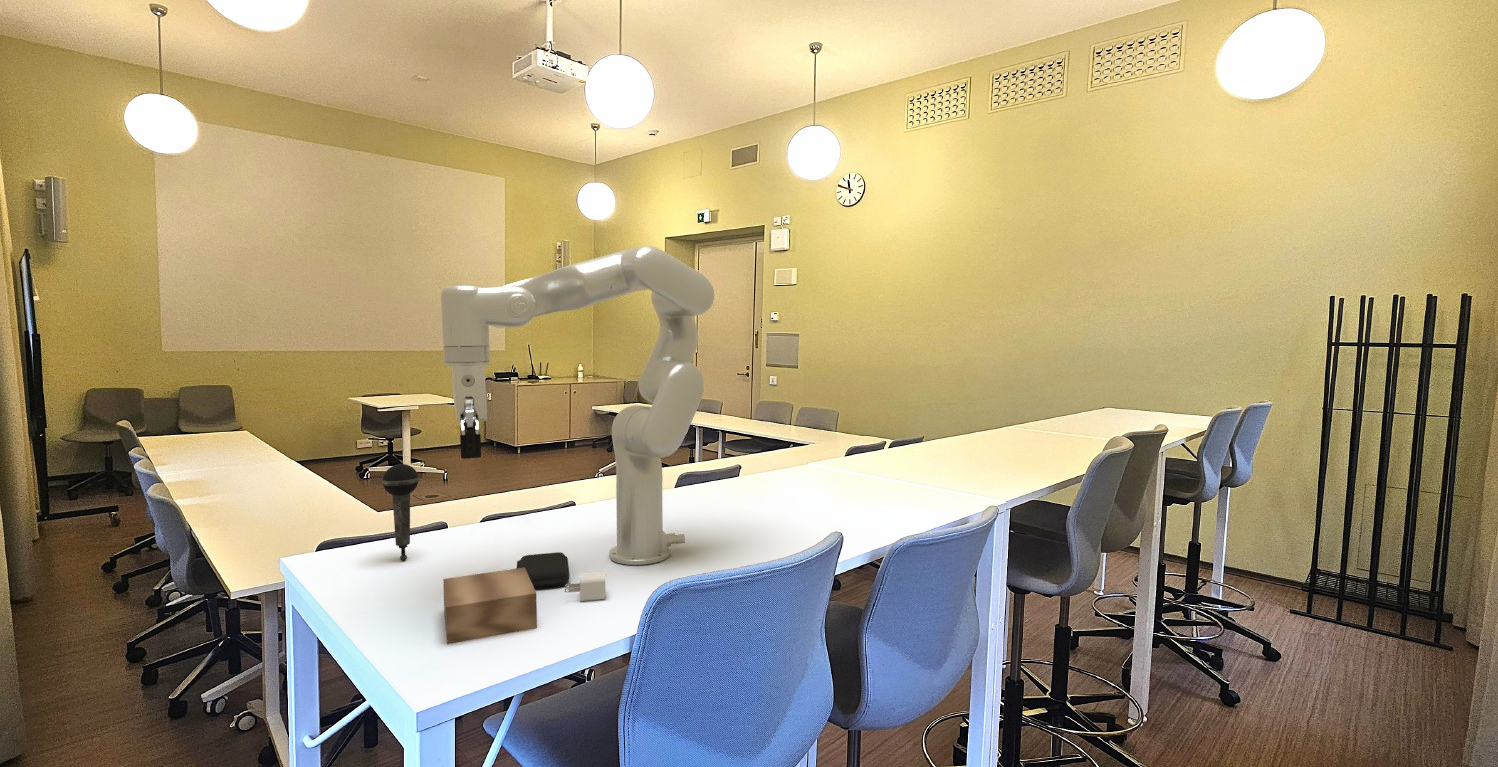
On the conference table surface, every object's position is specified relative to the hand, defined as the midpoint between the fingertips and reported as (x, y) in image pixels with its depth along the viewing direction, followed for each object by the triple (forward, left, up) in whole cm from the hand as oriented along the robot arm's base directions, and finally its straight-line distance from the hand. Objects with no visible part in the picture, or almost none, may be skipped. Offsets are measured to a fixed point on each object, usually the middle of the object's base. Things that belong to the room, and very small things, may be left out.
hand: (470, 453), depth 119 cm
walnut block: (-2, +14, -26) cm, 29 cm away
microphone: (+12, -24, -26) cm, 37 cm away
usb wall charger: (-18, +11, -26) cm, 33 cm away
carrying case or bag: (-12, -3, -26) cm, 29 cm away
